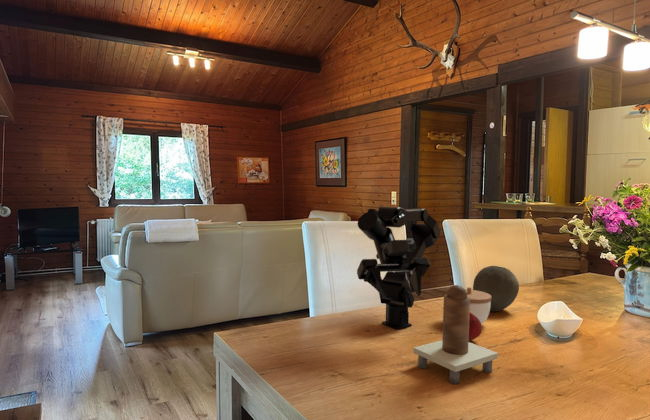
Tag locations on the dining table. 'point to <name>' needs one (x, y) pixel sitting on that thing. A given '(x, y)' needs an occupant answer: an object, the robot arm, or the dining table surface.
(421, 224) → the robot arm
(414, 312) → the dining table surface
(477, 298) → the lidded bowl
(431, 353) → the shelf
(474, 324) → the onion
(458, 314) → the mill
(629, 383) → the dining table surface
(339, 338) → the dining table surface
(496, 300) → the grey sphere
